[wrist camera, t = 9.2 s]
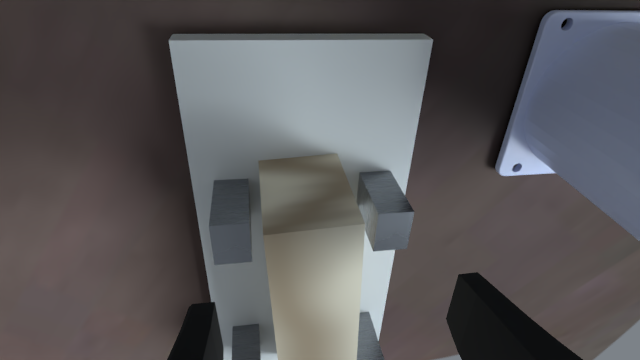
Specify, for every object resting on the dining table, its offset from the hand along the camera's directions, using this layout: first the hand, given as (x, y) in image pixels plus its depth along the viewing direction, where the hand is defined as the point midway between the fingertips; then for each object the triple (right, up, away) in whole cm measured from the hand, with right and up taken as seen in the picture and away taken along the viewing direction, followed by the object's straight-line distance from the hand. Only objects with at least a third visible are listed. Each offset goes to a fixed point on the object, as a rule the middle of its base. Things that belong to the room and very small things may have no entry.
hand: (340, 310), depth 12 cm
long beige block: (-1, -1, +10) cm, 10 cm away
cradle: (-2, 0, +10) cm, 11 cm away
